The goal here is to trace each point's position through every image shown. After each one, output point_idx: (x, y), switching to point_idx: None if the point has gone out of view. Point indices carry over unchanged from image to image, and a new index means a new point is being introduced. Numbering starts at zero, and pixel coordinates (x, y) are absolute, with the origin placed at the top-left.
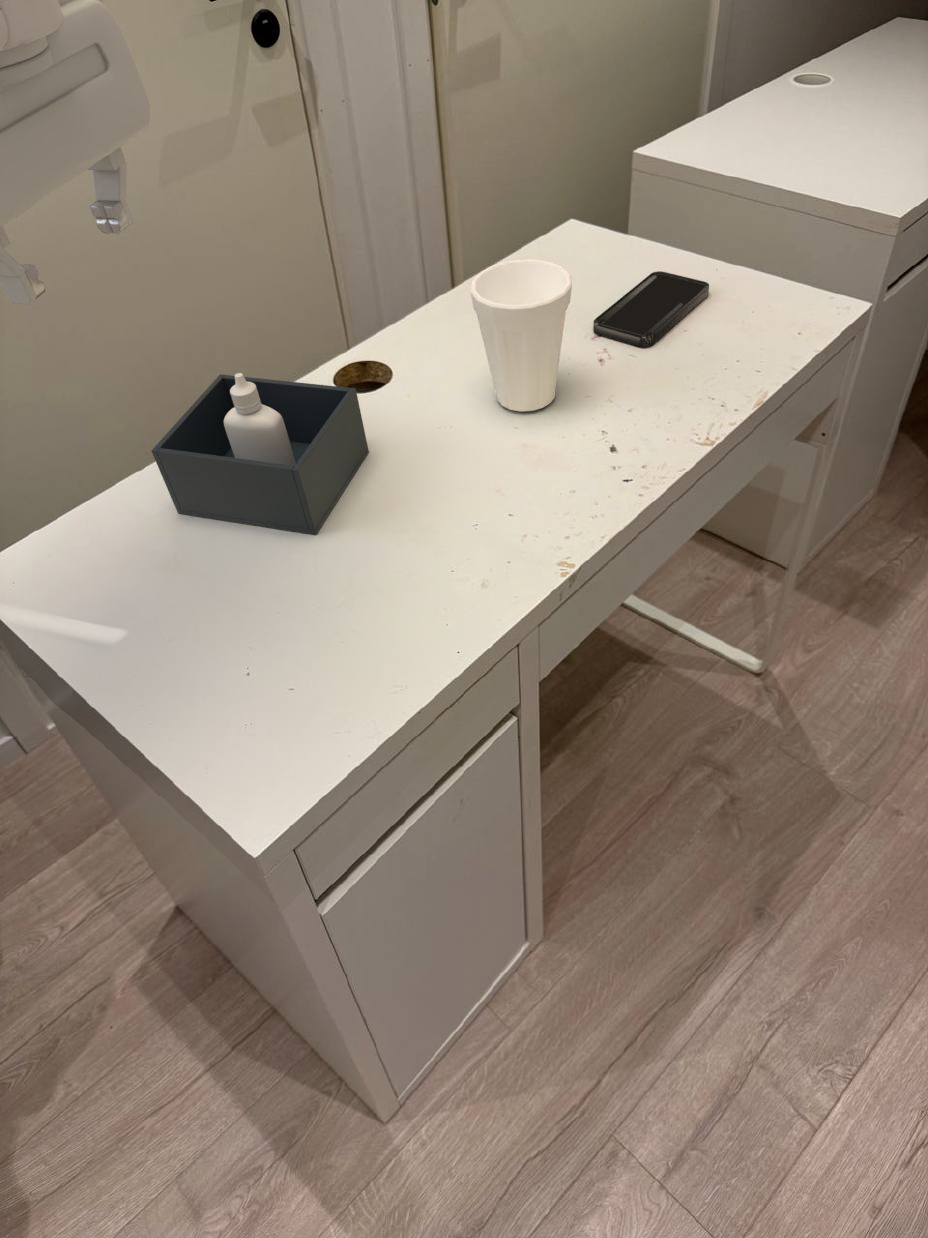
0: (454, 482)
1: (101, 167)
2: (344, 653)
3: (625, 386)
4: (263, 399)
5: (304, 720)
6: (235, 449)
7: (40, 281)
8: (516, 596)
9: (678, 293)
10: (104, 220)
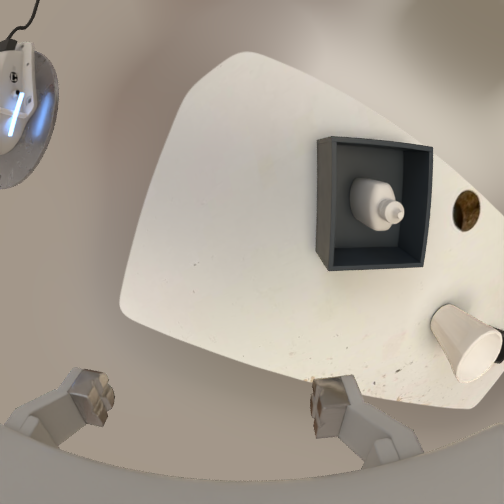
0: (373, 311)
1: (364, 466)
2: (225, 307)
3: (444, 357)
4: (420, 183)
5: (178, 305)
6: (363, 187)
7: (106, 411)
8: (286, 367)
9: (499, 353)
10: (317, 402)
